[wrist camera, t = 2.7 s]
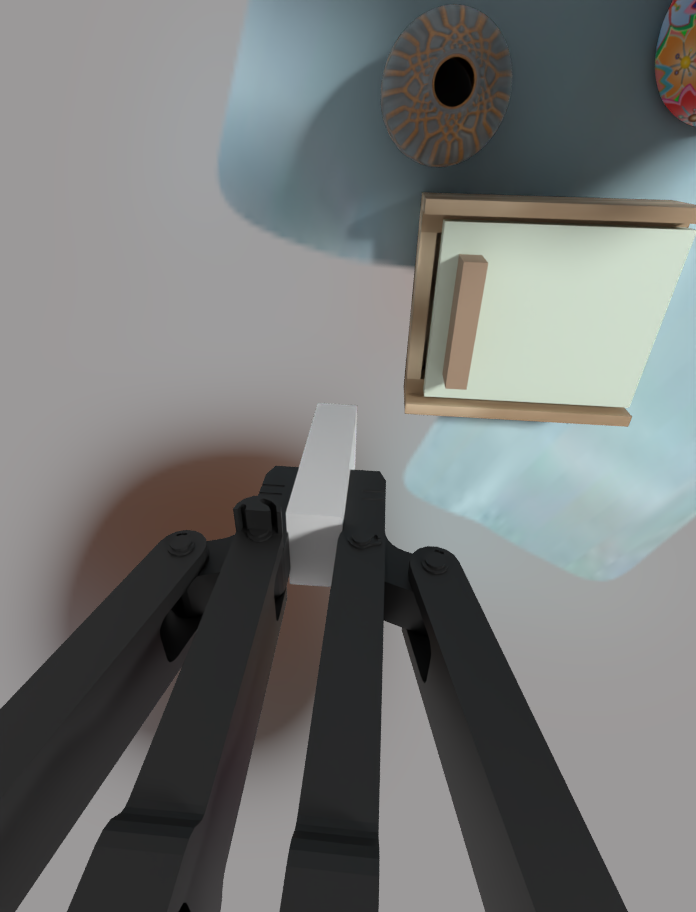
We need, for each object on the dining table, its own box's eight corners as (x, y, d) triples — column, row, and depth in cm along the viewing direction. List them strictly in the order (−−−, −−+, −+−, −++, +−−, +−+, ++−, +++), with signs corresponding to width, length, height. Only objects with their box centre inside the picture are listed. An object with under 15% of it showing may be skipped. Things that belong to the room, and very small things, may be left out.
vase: (363, 134, 30) (353, 130, 23) (415, -4, 27) (423, -60, 19) (459, 184, 31) (479, 196, 24) (521, 59, 28) (567, 27, 20)
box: (422, 192, 32) (426, 198, 28) (671, 200, 31) (713, 208, 27) (403, 386, 39) (404, 413, 35) (603, 397, 38) (628, 426, 34)
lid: (443, 218, 30) (449, 227, 27) (686, 227, 29) (720, 237, 26) (423, 389, 36) (425, 411, 33) (622, 400, 35) (643, 424, 32)
